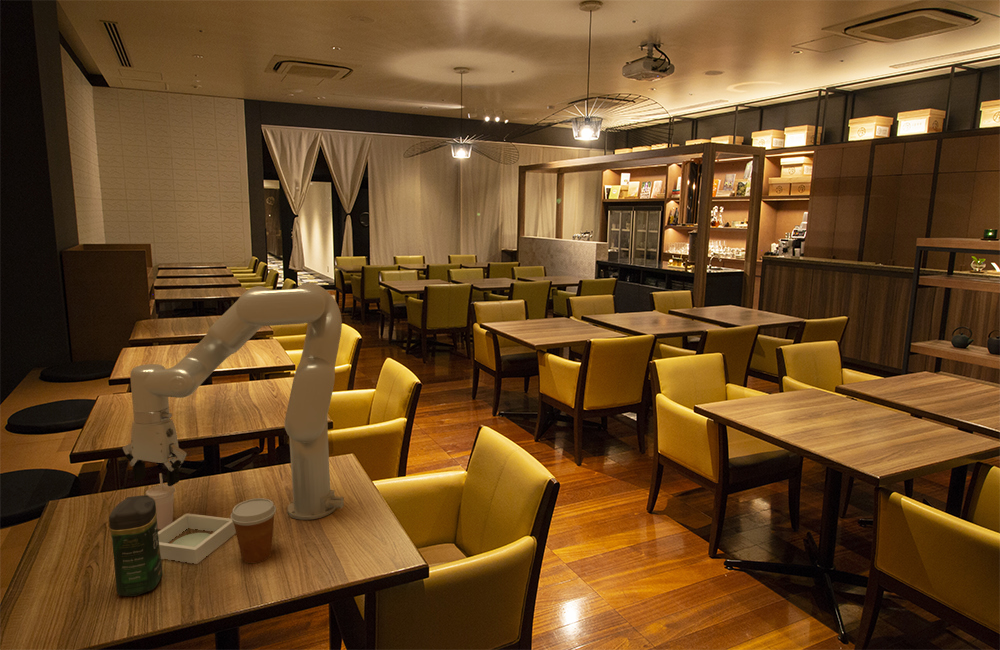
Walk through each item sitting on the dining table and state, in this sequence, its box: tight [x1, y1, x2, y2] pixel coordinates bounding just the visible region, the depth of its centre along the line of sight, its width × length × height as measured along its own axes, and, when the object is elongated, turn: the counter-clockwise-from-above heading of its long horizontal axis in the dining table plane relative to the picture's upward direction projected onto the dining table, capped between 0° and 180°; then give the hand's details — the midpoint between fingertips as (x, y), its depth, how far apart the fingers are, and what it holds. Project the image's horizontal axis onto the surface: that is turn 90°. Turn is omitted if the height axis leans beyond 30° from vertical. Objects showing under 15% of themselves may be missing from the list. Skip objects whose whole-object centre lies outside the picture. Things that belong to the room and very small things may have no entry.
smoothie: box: [145, 472, 176, 530], centre depth 148 cm, size 6×6×14 cm
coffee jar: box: [108, 494, 163, 597], centre depth 124 cm, size 10×8×19 cm
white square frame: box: [158, 512, 236, 565], centre depth 141 cm, size 14×14×4 cm
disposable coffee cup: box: [230, 497, 277, 564], centre depth 135 cm, size 10×10×12 cm
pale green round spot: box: [171, 532, 211, 547], centre depth 141 cm, size 9×9×1 cm
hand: (156, 481), depth 147 cm, fingers open, 9 cm apart
